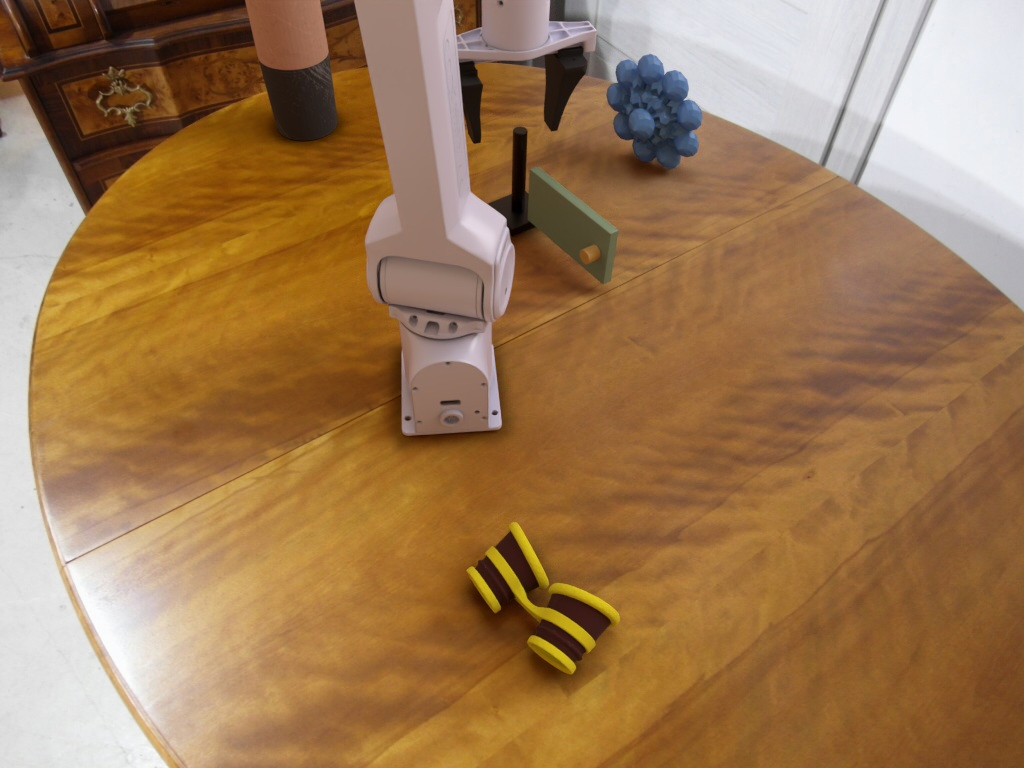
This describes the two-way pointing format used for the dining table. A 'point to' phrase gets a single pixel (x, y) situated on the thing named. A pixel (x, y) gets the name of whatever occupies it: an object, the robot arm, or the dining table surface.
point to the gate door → (572, 225)
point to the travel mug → (295, 66)
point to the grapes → (654, 111)
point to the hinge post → (516, 188)
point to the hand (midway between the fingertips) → (513, 131)
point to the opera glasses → (562, 622)
